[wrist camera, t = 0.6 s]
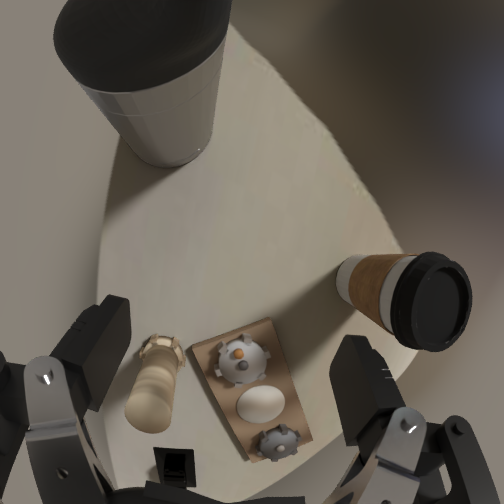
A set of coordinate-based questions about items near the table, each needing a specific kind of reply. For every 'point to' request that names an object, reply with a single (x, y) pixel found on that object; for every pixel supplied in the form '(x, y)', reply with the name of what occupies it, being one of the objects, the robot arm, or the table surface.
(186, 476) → the black block stand
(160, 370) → the spindle gear
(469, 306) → the coffee cup
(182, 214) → the table surface
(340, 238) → the table surface
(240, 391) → the gear board
